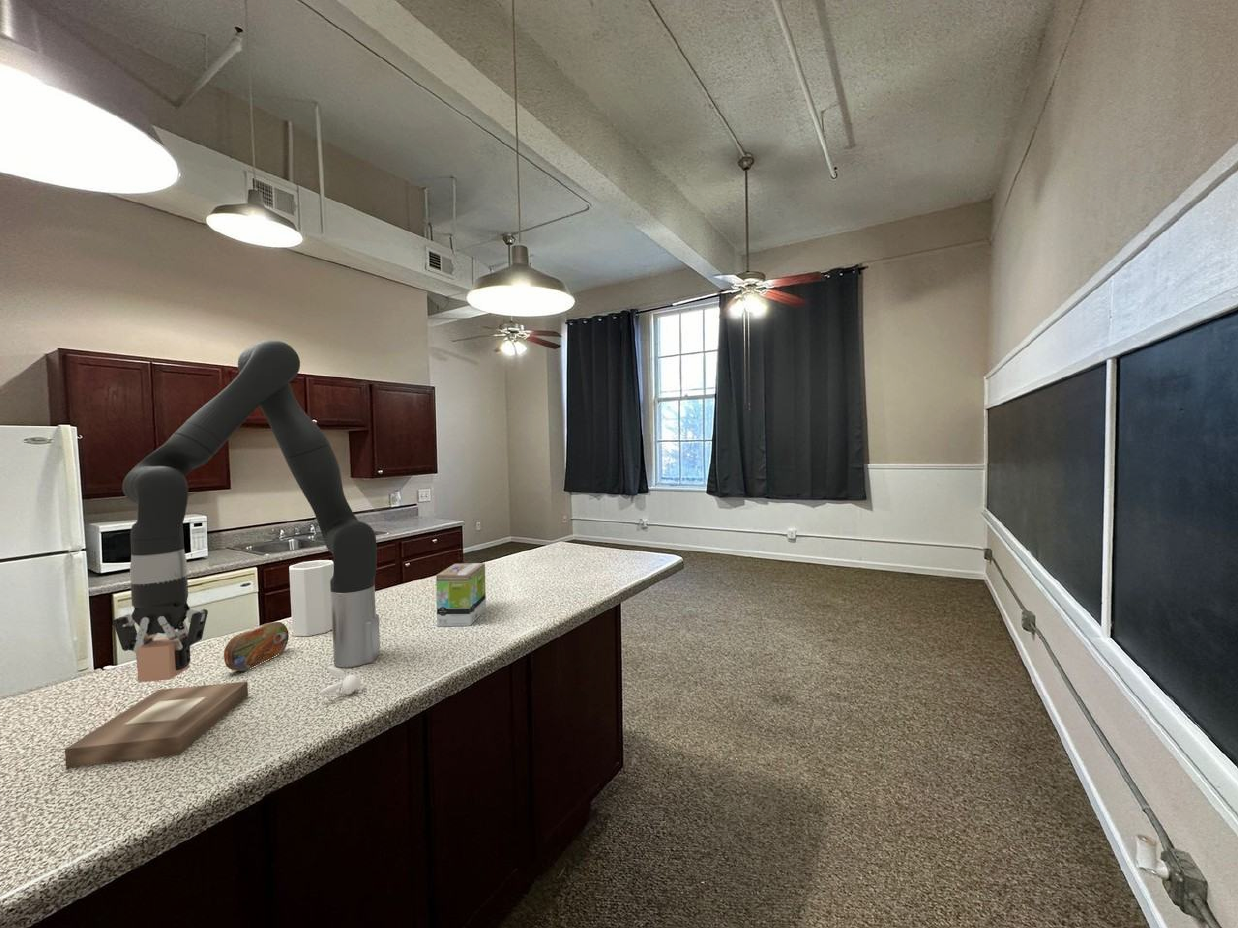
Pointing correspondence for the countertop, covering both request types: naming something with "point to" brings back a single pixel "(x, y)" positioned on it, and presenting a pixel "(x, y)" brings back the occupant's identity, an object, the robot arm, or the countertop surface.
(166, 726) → the plinth
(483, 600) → the tea box
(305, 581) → the cup
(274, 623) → the tin
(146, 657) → the block
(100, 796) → the countertop surface
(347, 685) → the rabbit figurine
